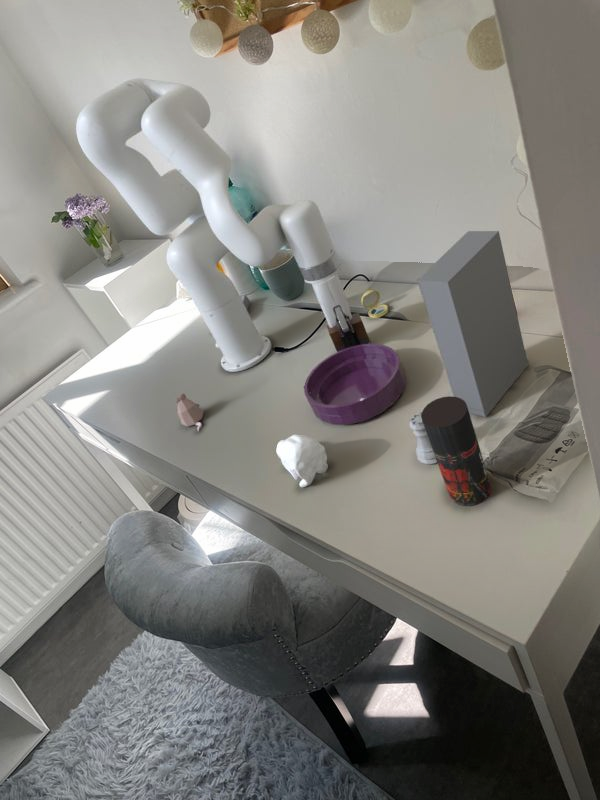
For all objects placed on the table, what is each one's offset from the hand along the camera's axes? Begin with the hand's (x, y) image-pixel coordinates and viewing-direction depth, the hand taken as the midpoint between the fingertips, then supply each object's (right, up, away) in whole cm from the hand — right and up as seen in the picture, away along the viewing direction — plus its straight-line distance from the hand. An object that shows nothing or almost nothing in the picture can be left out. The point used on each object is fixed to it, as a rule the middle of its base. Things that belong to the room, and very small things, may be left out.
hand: (351, 342), depth 127 cm
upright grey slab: (+21, -10, -25) cm, 34 cm away
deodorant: (+13, -25, -40) cm, 49 cm away
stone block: (-29, +10, +36) cm, 47 cm away
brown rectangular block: (0, 0, 0) cm, 1 cm away
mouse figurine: (-33, -17, +3) cm, 37 cm away
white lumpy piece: (-10, -24, -23) cm, 34 cm away
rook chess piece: (+10, -21, -32) cm, 39 cm away
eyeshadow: (+7, +7, +9) cm, 13 cm away
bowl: (0, -11, -12) cm, 16 cm away
